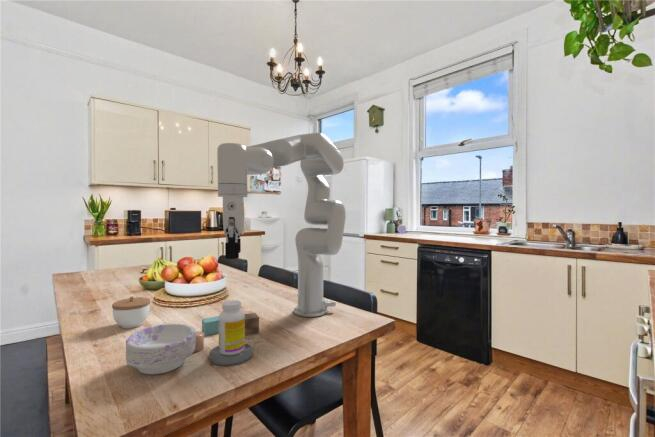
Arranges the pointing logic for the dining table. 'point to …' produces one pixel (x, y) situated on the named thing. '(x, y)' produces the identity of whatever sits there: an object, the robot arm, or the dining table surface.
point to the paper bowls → (160, 347)
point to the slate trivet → (230, 360)
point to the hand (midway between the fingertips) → (233, 255)
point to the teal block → (210, 325)
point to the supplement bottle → (231, 328)
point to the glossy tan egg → (199, 341)
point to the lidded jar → (131, 311)
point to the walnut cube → (251, 323)
